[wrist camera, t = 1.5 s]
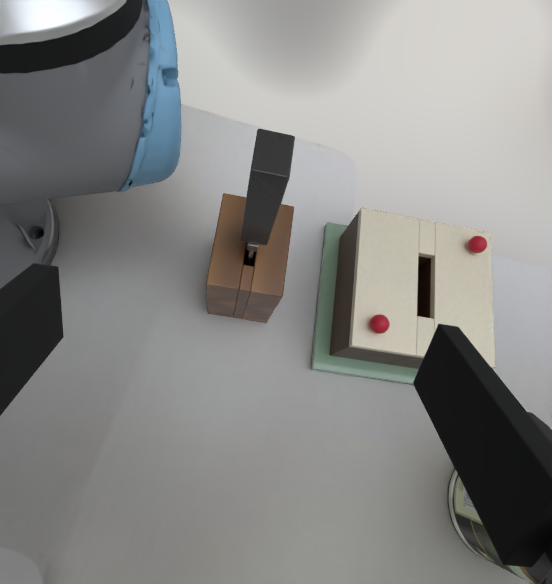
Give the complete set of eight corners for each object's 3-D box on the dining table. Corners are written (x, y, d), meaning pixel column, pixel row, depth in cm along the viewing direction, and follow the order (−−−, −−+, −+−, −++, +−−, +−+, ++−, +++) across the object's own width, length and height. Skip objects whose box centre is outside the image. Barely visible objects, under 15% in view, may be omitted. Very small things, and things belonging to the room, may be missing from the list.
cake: (329, 355, 40) (358, 342, 32) (339, 236, 43) (367, 198, 35) (451, 374, 41) (508, 366, 33) (451, 257, 45) (502, 225, 37)
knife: (231, 290, 40) (250, 173, 20) (236, 262, 41) (258, 124, 21) (251, 293, 40) (289, 181, 20) (255, 266, 41) (295, 132, 21)
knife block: (207, 313, 40) (205, 284, 30) (221, 240, 42) (223, 192, 33) (266, 322, 41) (282, 296, 31) (276, 250, 43) (294, 206, 33)
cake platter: (310, 369, 40) (312, 368, 39) (325, 226, 45) (327, 222, 44) (459, 391, 42) (465, 391, 41) (458, 251, 46) (463, 247, 45)
